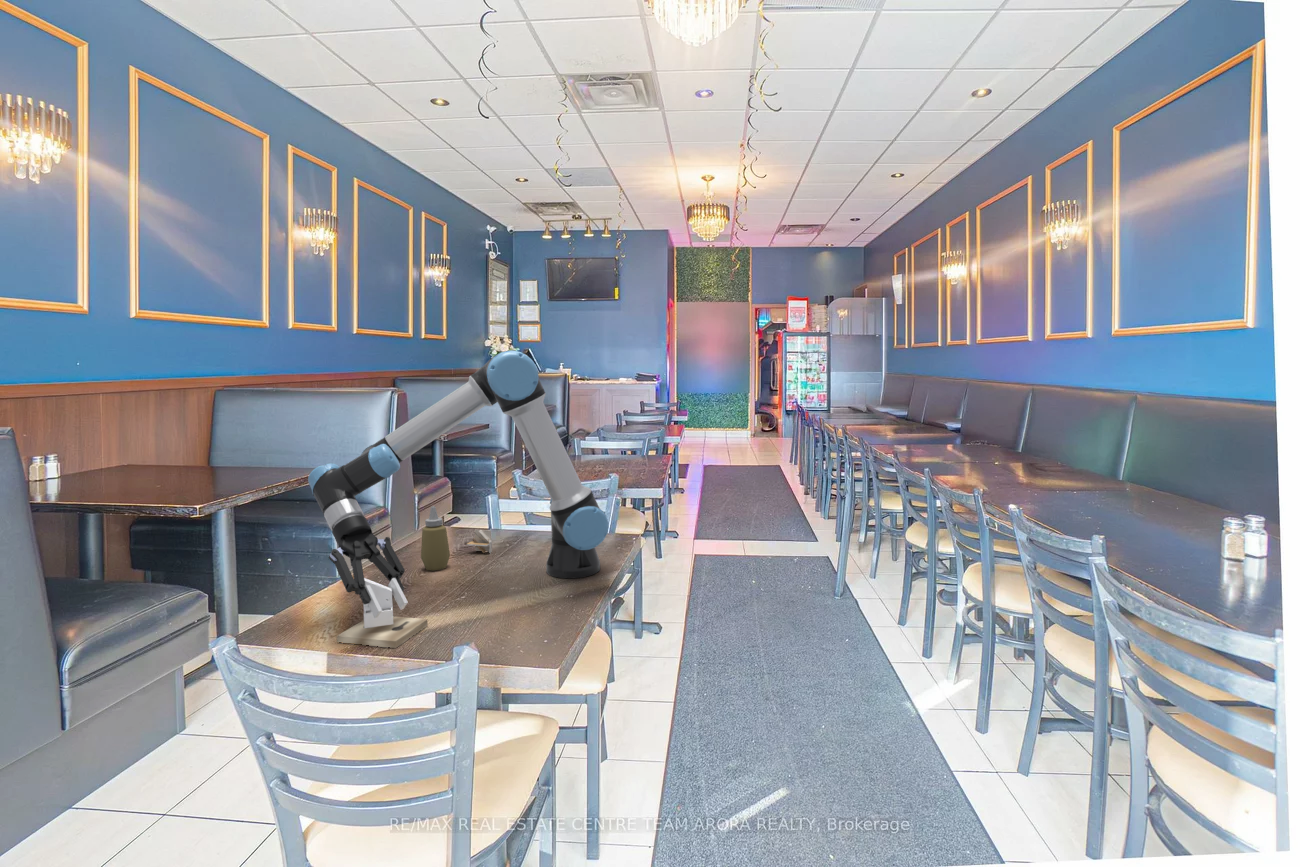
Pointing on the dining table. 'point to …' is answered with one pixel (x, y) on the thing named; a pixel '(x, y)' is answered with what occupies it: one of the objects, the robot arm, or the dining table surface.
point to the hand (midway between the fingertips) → (391, 610)
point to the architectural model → (482, 541)
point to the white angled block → (385, 602)
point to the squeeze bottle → (434, 543)
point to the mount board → (383, 633)
